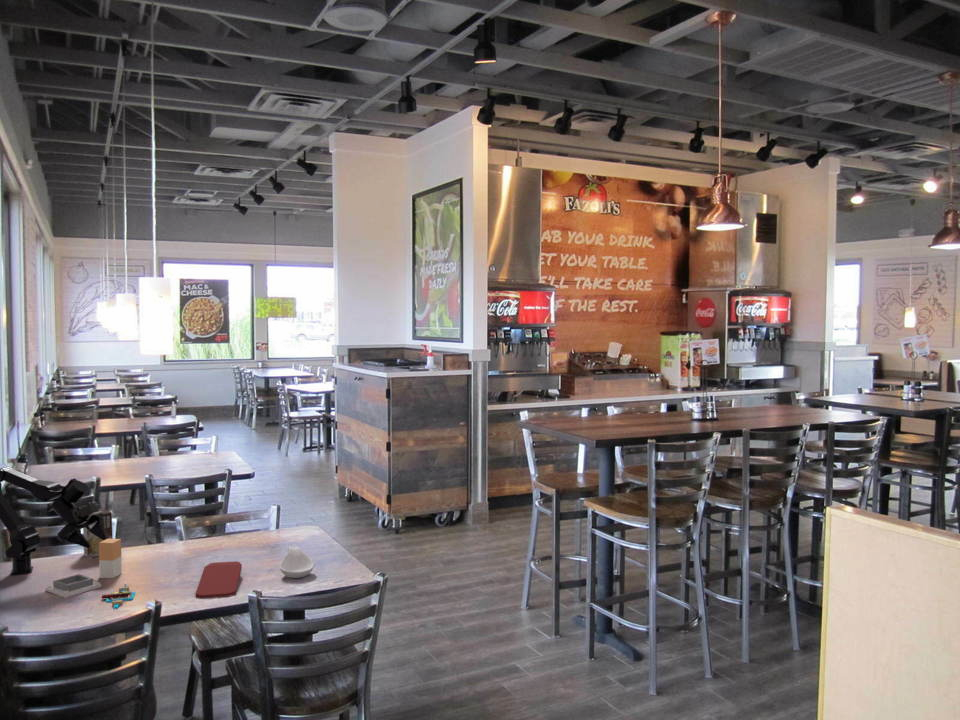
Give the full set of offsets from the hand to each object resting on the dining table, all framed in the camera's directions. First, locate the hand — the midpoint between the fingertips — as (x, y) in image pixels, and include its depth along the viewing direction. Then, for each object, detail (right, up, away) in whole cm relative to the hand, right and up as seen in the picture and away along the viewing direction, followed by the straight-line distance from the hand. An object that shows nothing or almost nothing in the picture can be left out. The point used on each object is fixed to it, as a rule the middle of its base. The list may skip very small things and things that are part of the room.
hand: (97, 543), depth 260 cm
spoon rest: (+68, -12, +6) cm, 69 cm away
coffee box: (-13, -11, +25) cm, 30 cm away
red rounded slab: (+46, -12, -8) cm, 49 cm away
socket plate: (-1, -12, -13) cm, 18 cm away
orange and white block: (+5, -11, 0) cm, 12 cm away
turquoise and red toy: (+18, -13, -22) cm, 31 cm away
